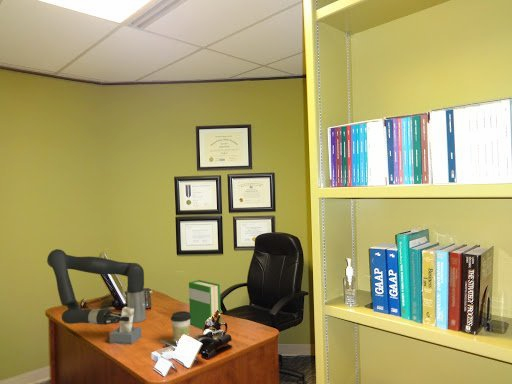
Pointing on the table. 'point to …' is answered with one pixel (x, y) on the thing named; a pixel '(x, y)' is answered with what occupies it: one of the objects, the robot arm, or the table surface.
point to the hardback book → (203, 302)
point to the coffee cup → (180, 324)
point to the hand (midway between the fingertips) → (130, 318)
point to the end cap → (125, 336)
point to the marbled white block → (127, 325)
